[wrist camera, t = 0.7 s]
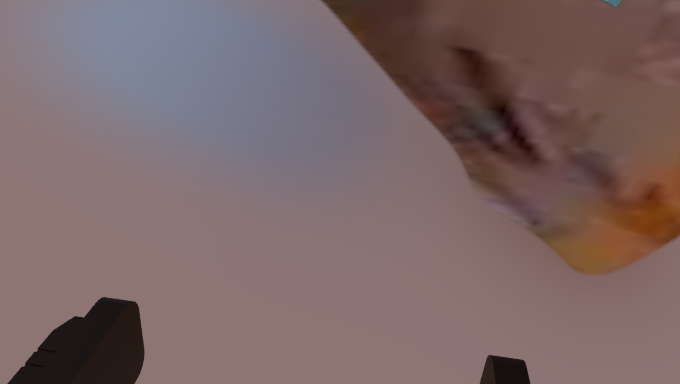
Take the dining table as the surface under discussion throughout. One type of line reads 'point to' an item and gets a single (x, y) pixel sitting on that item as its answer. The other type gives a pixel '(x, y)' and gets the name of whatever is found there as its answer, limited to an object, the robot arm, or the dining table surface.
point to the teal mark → (613, 2)
